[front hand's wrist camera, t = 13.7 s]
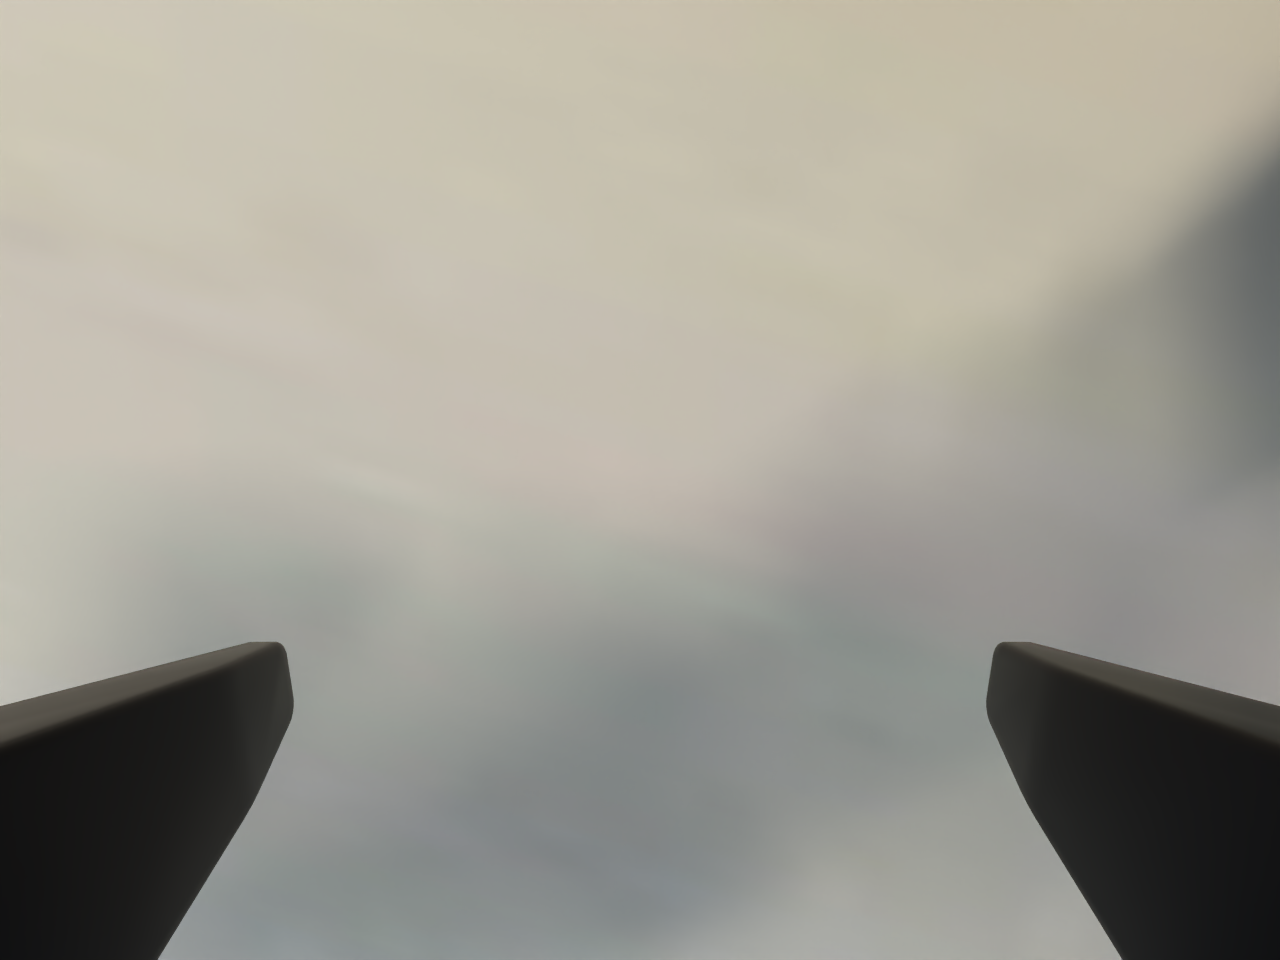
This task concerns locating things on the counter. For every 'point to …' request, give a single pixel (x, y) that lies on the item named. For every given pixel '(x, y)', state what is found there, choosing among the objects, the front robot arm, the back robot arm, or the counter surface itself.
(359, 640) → the counter surface
